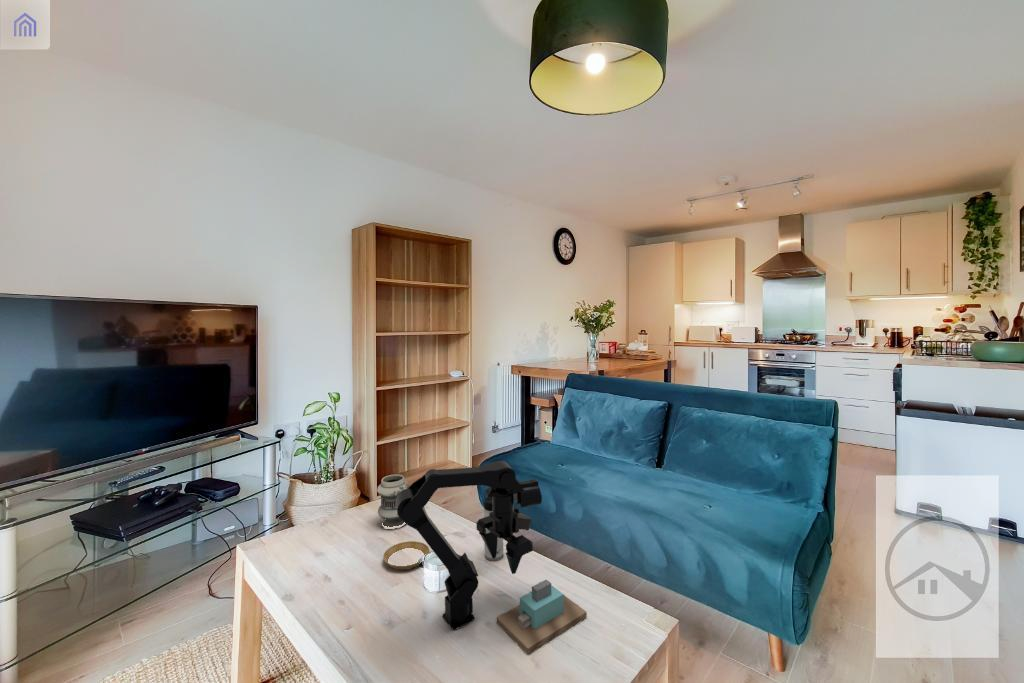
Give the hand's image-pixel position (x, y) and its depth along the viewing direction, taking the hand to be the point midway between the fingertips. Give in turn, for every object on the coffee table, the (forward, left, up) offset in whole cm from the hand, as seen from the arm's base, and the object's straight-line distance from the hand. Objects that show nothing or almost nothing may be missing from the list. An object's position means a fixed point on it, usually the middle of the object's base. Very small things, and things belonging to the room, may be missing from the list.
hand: (503, 565), depth 115 cm
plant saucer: (-12, +38, -12) cm, 42 cm away
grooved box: (+5, -10, -10) cm, 15 cm away
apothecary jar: (-6, +64, -12) cm, 65 cm away
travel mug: (+12, +22, -12) cm, 28 cm away
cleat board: (+5, -10, -12) cm, 16 cm away
